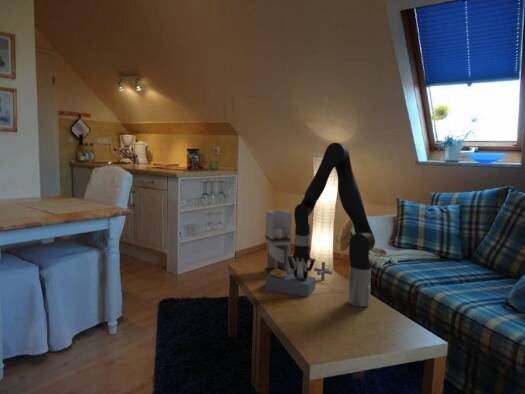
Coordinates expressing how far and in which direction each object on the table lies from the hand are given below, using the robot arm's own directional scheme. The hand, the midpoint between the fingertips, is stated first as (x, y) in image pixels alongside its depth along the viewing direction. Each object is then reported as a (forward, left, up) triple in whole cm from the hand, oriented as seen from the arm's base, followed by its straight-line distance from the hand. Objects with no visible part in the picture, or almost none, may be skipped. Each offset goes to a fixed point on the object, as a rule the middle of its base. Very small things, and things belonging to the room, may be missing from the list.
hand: (300, 277), depth 196 cm
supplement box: (+7, -16, -7) cm, 19 cm away
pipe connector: (-6, -21, -7) cm, 23 cm away
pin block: (+5, 0, -7) cm, 8 cm away
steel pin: (0, 0, -5) cm, 5 cm away
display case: (+20, -20, -7) cm, 29 cm away
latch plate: (+11, 0, 0) cm, 11 cm away
